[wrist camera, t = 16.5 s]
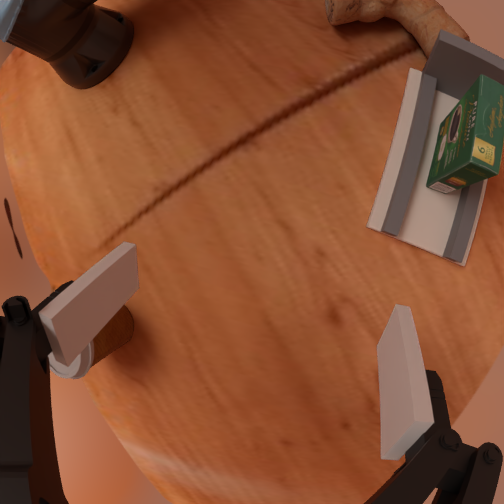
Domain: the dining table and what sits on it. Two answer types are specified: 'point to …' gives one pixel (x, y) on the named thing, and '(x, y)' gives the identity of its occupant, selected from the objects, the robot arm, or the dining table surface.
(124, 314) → the disposable coffee cup
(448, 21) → the clay pipe
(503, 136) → the coffee box
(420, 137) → the rack
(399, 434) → the robot arm
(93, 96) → the dining table surface
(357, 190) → the dining table surface
